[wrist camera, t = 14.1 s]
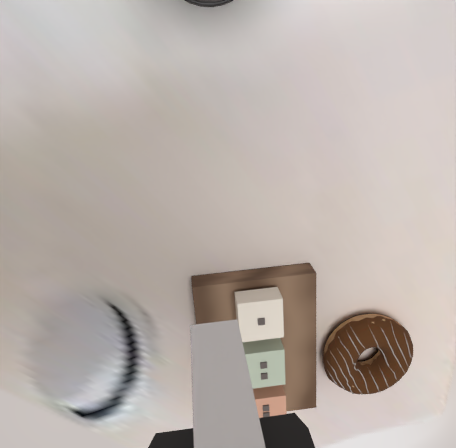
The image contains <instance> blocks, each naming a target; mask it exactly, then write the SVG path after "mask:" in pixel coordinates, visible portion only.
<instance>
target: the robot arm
mask: <svg viewBox="0 0 456 448" xmlns="http://www.w3.org/2000/svg"><path fill="white" fill-rule="evenodd" d="M190 333H191V366H192V400H193V428H192V429H184V430H177V431H170V432H163V433H156V434H155V436H154V438H153V440H152V442H151V443H150V445H149V447H148V448H315V446H314V443H313V441H312V438H311V435H310V432H309V429H308V427H307V426H306V425H305V424H304V423H303V422H302V421H301V420H300V419H299V417H298V416H297V415H296V414H295V413H291V414H283V415H276V416H269V417H262V418H259V415H258V411H257V406H256V402H255V397H254V393H253V388H252V384H251V379H250V375H249V370H248V365H247V361H246V356H245V352H244V347H243V343H242V338H241V334H240V329H239V325H238V320H237V319H236V320H228V321H220V322H212V323H203V324H195V325H190Z"/></svg>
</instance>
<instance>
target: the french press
mask: <svg viewBox="0 0 456 448" xmlns="http://www.w3.org/2000/svg"><path fill="white" fill-rule="evenodd" d="M185 1H187V2H189V3H191V4H195V5H198V6H204V7H214V6H220V5H224V4H226V3H229V2H231V1H233V0H185Z"/></svg>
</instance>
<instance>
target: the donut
mask: <svg viewBox="0 0 456 448" xmlns="http://www.w3.org/2000/svg"><path fill="white" fill-rule="evenodd" d="M371 347H376V348H377V349H378V352H377V353H376V355H375V356H373V357H372V358H371V359H369V360H366V361H362V362H358V361H357V359H358V358H359V356H360V355H361V353H362V352H363V351H364V350H366V349H368V348H371ZM412 357H413V344H412V341H411V338H410V336H409V333H408V331H407V330H406V329H405V328H404V327H403V326H401V325H400V324H399V323H398V322H397V321H395V320H394V319H392V318H389V317H387V316H384V315H379V314H364V315H359V316H355V317H353V318H350V319H348V320H347V321H345V322H343V323H342V324H340V325H339V326H338V327H337V328H336V329H335V330H334V331H333V332H332V334H331V335H330V337H329V338H328V340H327V342H326V344H325V347H324V352H323V361H324V368H325V371H326V374H327V376H328V378H329V379H330V380H331V381H332V382H334V383H335V384H336V385H337V386H339V387H341V388H343V389H344V390H347V391H349V392H352V394H353V393H355V394H372V393H377V392H380V391H383V390H385V389H387V388H389V387H391V386H393V385H394V384H395V383H396V382H398V381H399V380H400V379H401V378H402V376H403V375H405V373H406V372H407V370H408V368H409V366H410V364H411V361H412Z"/></svg>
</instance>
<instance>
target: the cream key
mask: <svg viewBox="0 0 456 448" xmlns="http://www.w3.org/2000/svg"><path fill="white" fill-rule="evenodd" d="M234 293H235V306H236V319H237V320H238V325H239V329H240V334H241V338H242V342H250V341H258V340H266V339H274V338H282V337H284V321H283V298H282V296H281V293H280V291H279V289H278V287H272V288H263V289H255V290H246V291H237V292H234Z"/></svg>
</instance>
